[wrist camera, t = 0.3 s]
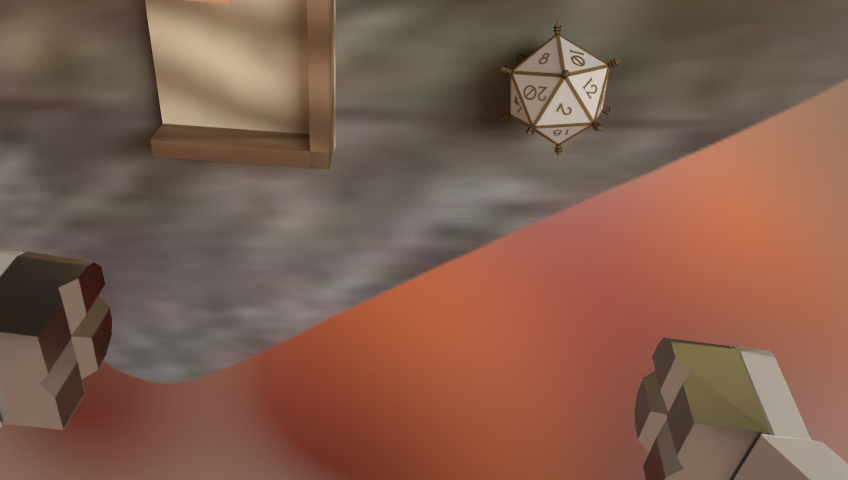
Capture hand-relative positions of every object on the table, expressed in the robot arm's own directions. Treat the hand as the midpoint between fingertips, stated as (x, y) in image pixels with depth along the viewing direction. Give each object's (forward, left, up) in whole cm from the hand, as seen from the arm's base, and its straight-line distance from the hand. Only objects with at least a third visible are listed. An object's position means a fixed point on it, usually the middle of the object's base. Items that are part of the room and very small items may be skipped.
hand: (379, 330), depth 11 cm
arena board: (+11, -14, -48) cm, 51 cm away
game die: (+14, +10, -48) cm, 51 cm away
